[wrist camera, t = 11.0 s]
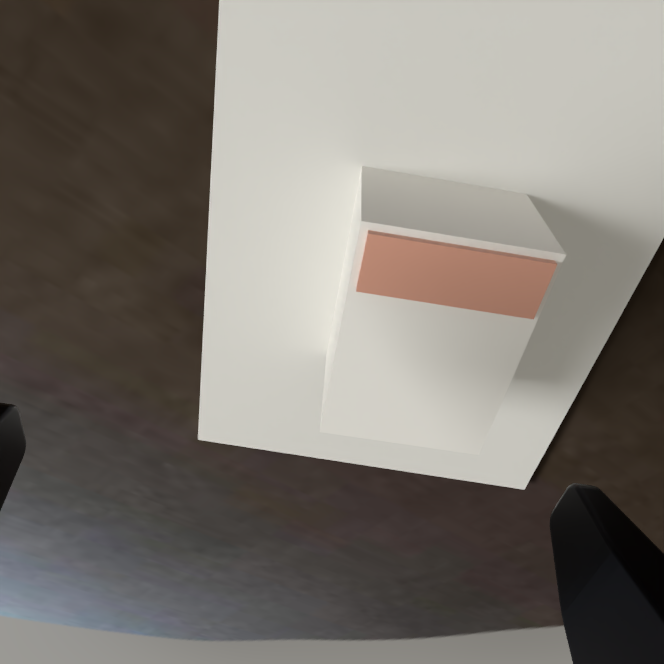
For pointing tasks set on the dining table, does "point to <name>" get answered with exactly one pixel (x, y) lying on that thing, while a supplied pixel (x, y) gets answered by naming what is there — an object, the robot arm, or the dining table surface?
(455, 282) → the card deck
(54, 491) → the dining table surface
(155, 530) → the dining table surface
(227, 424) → the mat
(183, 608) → the dining table surface
